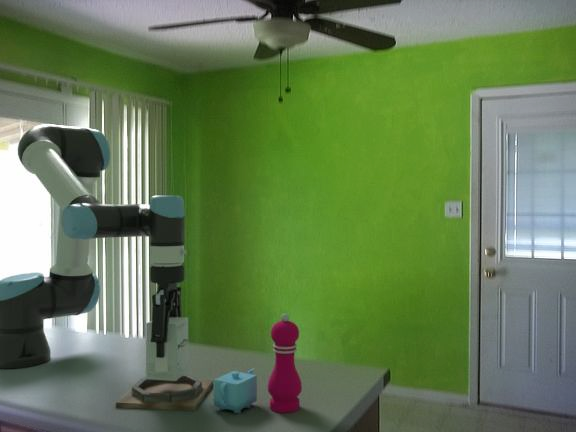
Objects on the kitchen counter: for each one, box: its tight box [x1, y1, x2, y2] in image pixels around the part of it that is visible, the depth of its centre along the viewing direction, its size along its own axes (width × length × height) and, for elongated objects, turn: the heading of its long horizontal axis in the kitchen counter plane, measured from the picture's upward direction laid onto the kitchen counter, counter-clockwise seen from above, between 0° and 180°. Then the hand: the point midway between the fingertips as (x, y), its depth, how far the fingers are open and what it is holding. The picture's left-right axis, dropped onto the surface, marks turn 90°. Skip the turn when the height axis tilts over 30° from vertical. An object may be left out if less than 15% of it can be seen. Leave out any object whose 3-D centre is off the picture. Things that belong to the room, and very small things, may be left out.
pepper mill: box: [267, 313, 303, 414], centre depth 117 cm, size 7×7×20 cm
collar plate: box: [115, 373, 214, 411], centre depth 125 cm, size 17×17×2 cm
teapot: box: [213, 367, 258, 414], centre depth 118 cm, size 12×6×8 cm, turn 149°
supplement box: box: [145, 316, 189, 381], centre depth 124 cm, size 7×7×13 cm
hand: (167, 365), depth 124 cm, fingers closed on supplement box, 8 cm apart
